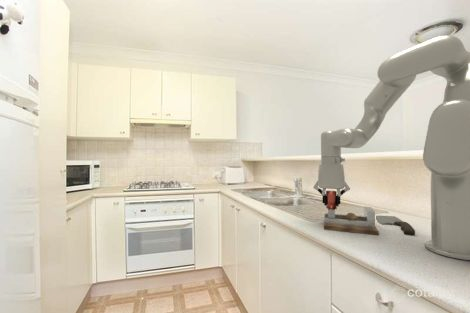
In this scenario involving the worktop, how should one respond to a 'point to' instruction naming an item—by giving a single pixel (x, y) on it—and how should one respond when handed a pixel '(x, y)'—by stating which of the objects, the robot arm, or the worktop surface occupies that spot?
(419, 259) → the worktop surface
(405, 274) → the worktop surface
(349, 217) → the walnut
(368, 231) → the press base
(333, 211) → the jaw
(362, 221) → the press frame
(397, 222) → the cleaver
